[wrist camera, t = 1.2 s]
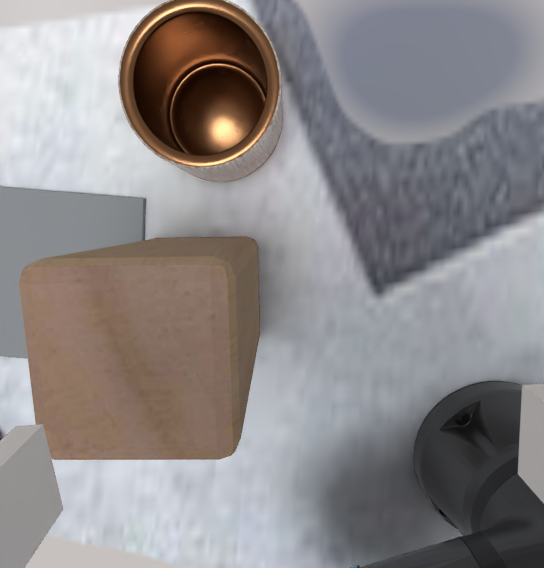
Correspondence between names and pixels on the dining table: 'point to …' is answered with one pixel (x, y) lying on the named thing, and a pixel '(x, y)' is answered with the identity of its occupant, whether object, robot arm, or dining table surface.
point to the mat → (54, 241)
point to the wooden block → (143, 347)
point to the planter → (203, 88)
